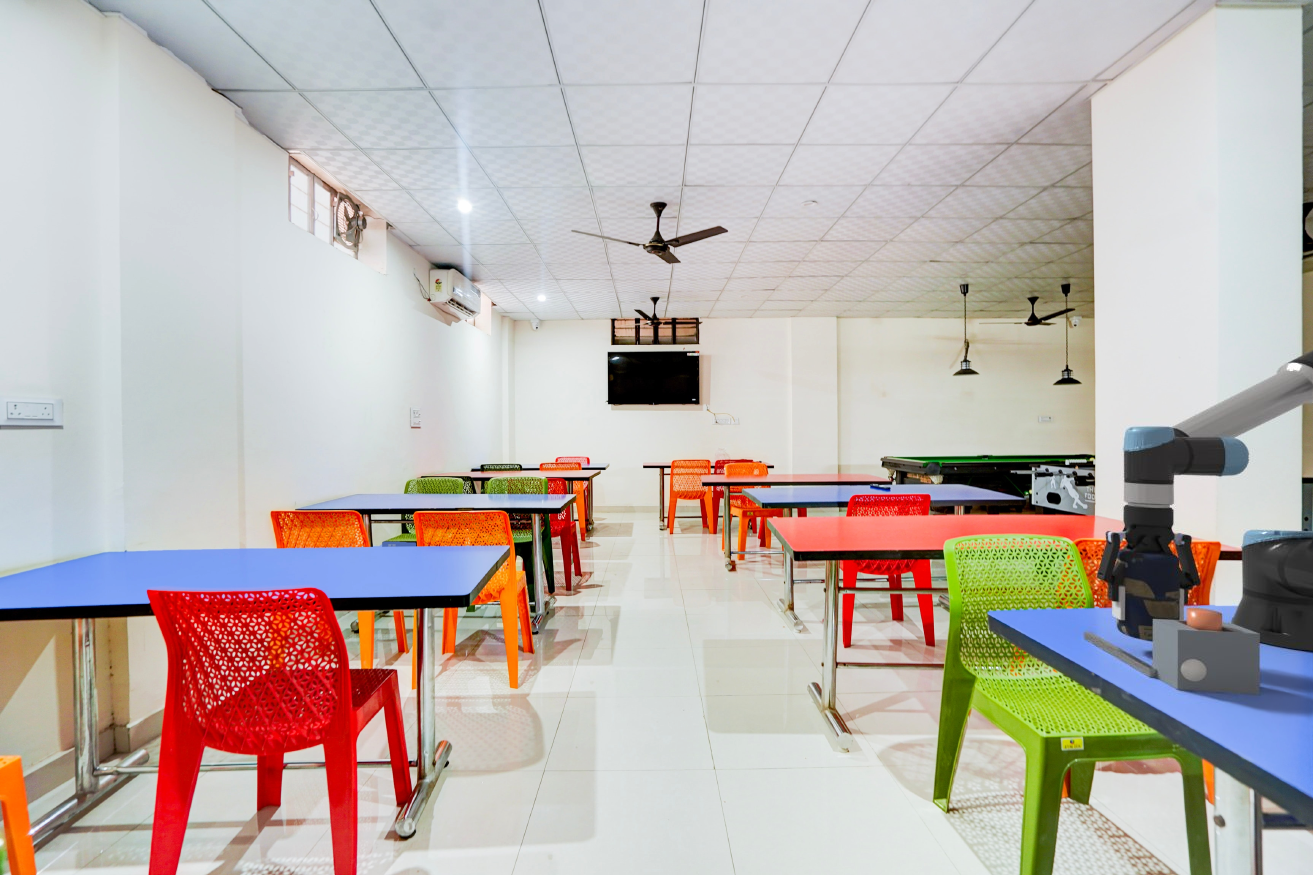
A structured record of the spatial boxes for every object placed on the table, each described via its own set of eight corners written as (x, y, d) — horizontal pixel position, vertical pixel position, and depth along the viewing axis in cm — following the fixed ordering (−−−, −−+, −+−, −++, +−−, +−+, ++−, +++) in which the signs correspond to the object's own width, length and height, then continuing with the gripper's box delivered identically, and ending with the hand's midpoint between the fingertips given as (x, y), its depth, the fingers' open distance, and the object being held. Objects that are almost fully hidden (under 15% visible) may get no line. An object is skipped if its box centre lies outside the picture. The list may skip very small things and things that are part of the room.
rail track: (1165, 642, 120) (1165, 635, 120) (1247, 682, 100) (1248, 674, 100) (1084, 638, 122) (1084, 631, 122) (1149, 677, 103) (1149, 668, 103)
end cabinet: (1229, 679, 102) (1229, 622, 102) (1261, 695, 95) (1261, 634, 95) (1152, 675, 103) (1152, 618, 103) (1179, 690, 97) (1179, 630, 97)
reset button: (1208, 634, 101) (1208, 608, 101) (1229, 642, 97) (1229, 615, 97) (1180, 632, 102) (1180, 607, 102) (1199, 641, 98) (1199, 614, 98)
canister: (1192, 648, 108) (1192, 551, 109) (1133, 644, 111) (1134, 549, 111) (1159, 631, 118) (1160, 542, 118) (1106, 628, 120) (1106, 540, 120)
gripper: (1197, 504, 116) (1197, 616, 116) (1075, 501, 120) (1074, 610, 120) (1228, 508, 109) (1227, 629, 109) (1096, 505, 112) (1095, 621, 112)
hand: (1147, 619), depth 114 cm, fingers closed on canister, 9 cm apart
